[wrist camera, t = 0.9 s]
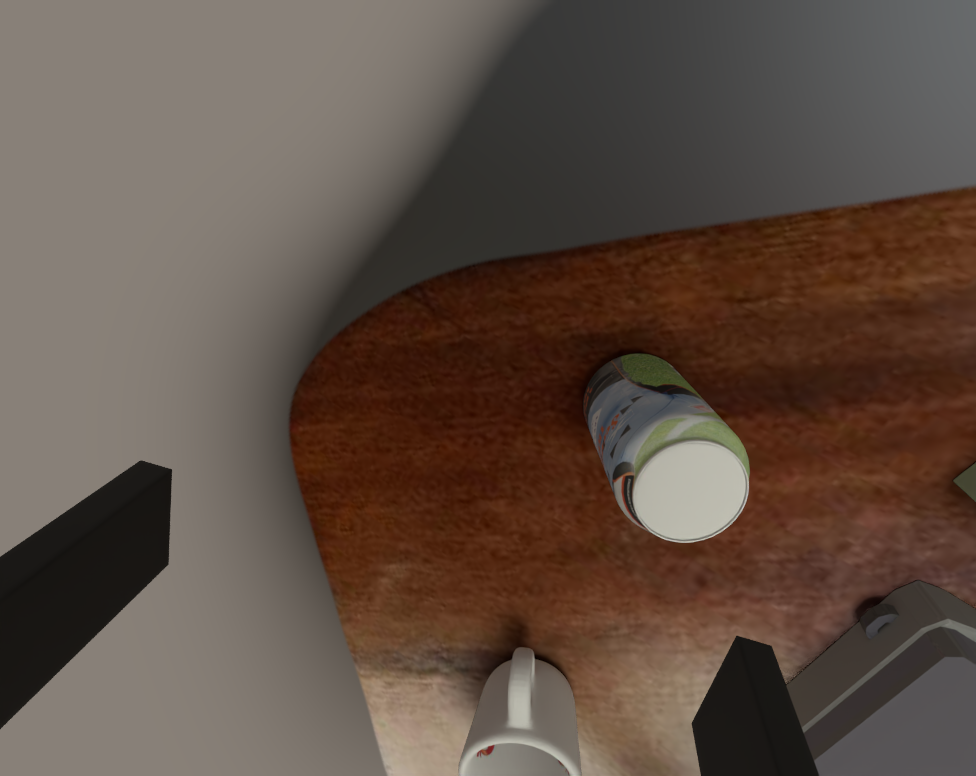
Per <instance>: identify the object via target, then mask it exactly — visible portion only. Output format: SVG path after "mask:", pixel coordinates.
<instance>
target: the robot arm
mask: <svg viewBox="0 0 976 776" xmlns="http://www.w3.org/2000/svg"><path fill="white" fill-rule="evenodd" d="M171 478H172V469H168V468H165V467H162V466H158V465H155V464H152V463H148V462H145V461H139V462H138V463H136V464H135V465H133V466H132V467H130V468H129V469H128V470H126V471H125V472H123V473H122V474H120V475H119V476H117V477H116V478H114V479H113V480H112V481H110V482H109V483H107V484H106V485H104V486H103V487H101V488H100V489H98V490H97V491H95V492H94V493H92V494H91V495H90V496H88V497H87V498H85V499H84V500H82V501H81V502H79V503H78V504H76V505H75V506H74V507H72V508H71V509H69V510H68V511H66V512H65V513H63V514H62V515H60V516H59V517H58V518H56V519H55V520H53V521H52V522H50V523H49V524H48V525H46V526H44V527H43V528H42V529H40V530H39V531H37V532H36V533H34V534H33V535H31V536H30V537H28V538H27V539H26V540H24V541H23V542H21V543H20V544H18V545H17V546H15V547H14V548H12V549H11V550H10V551H8V552H7V553H5V554H4V555H2V556H1V557H0V729H1V728H2V727H3V726H4V725H5V724H6V723H7V722H8V721H9V720H10V719H11V718H12V717H13V716H14V715H15V714H16V713H17V712H18V711H19V710H20V709H21V708H22V707H23V706H24V705H25V704H26V703H27V702H28V701H29V700H30V699H31V698H32V697H33V696H34V695H35V694H37V693H38V692H39V691H40V689H42V688H43V686H45V685H46V684H47V683H48V682H49V681H50V680H51V679H52V678H53V677H54V676H55V675H56V674H57V673H58V672H59V671H60V670H61V669H62V668H63V667H64V666H65V665H66V664H67V663H68V662H69V661H70V660H71V659H72V658H73V657H74V656H75V655H76V654H77V653H78V652H79V651H80V650H81V649H82V648H83V647H85V646H86V644H88V642H90V641H91V639H92V638H94V637H95V636H96V635H97V633H99V632H100V631H101V630H102V629H103V628H104V627H105V626H106V625H107V624H108V623H109V622H110V621H111V620H112V619H113V618H114V617H115V616H116V615H117V614H118V613H119V612H120V611H121V610H122V609H123V608H124V607H125V606H126V605H127V604H128V603H129V602H130V601H131V600H132V599H134V598H135V597H136V595H137V594H139V593H140V592H141V591H142V590H143V589H144V588H145V587H146V586H147V585H148V584H149V583H150V582H151V581H152V580H153V579H154V578H155V577H156V576H157V575H158V574H159V573H160V572H161V571H162V570H163V569H164V568H165V567H166V566H167V565H168V561H169V535H170V533H169V532H170V507H171V480H172V479H171ZM692 728H693V733H694V739H695V744H696V750H697V756H698V761H699V767H700V772H701V776H819V773H818V770H817V768H816V765H815V762H814V760H813V757H812V754H811V752H810V749H809V746H808V743H807V741H806V738H805V735H804V733H803V730H802V727H801V725H800V722H799V719H798V716H797V714H796V711H795V708H794V706H793V703H792V700H791V697H790V695H789V692H788V689H787V687H786V684H785V681H784V679H783V676H782V673H781V670H780V668H779V665H778V662H777V660H776V657H775V654H774V652H773V649H772V646H770V645H766V644H763V643H760V642H756V641H753V640H750V639H746V638H743V637H739V636H736V638H735V640H734V642H733V644H732V646H731V648H730V649H729V651H728V653H727V655H726V657H725V659H724V661H723V663H722V665H721V667H720V669H719V671H718V673H717V675H716V677H715V679H714V681H713V683H712V685H711V687H710V688H709V690H708V692H707V694H706V696H705V698H704V700H703V702H702V704H701V706H700V708H699V710H698V712H697V714H696V716H695V718H694V720H693V722H692Z"/></svg>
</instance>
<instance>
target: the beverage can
mask: <svg viewBox="0 0 976 776" xmlns="http://www.w3.org/2000/svg"><path fill="white" fill-rule="evenodd" d="M583 412H584V417H585V420H586V423H587V425H588V428H589V430H590V433H591V436H592V438H593V441H594V443H595V446H596V448H597V451H598V454H599V456H600V459H601V461H602V464H603V466H604V469H605V472H606V474H607V477H608V479H609V482H610V484H611V487H612V489H613V492H614V495H615V497H616V499H617V502H618V504H619V506H620V508H621V509H622V511H623V512H624V513H625V515H626V516H627V517H628V518H629V519H630V520H631V521H632V522H633V523H635V524H636V525H638V526H639V527H641V528H642V529H644V530H646V531H648V532H651V533H653V534H655V535H656V536H658V537H660V538H663V539H665V540H669V541H673V542H682V543H686V542H696V541H701V540H705V539H707V538H710V537H713V536H715V535H717V534H718V533H720V532H722V531H723V530H725V529H726V528H727V527H729V526H730V525H731V524H732V523H733V522H734V521H735V520H736V519H737V517H738V516H739V514H740V513H741V512H742V510H743V508H744V506H745V504H746V500H747V497H748V491H749V473H750V469H749V460H748V456H747V453H746V450H745V448H744V446H743V444H742V443H741V441H740V439H739V438H738V437H737V435H736V434H735V433H734V432H733V431H732V430H731V429H730V428H729V427H728V426H727V424H726V423H725V422H724V421H723V420H722V419H721V418H720V417H719V416H718V415H717V414H716V413H715V412H714V410H713V409H712V408H711V407H710V406H709V405H708V404H707V403H706V402H705V401H704V400H703V399H702V398H701V397H700V395H699V394H698V393H697V392H696V391H695V390H694V389H693V388H692V387H691V386H690V385H689V384H688V383H687V381H686V380H685V379H684V378H683V377H682V376H681V375H680V374H679V373H678V372H677V371H676V370H675V369H674V367H673V366H671V365H670V364H669V363H667V362H666V361H665V360H663V359H661V358H659V357H656V356H652V355H649V354H629V355H624V356H621V357H618V358H616V359H613V360H611V361H610V362H608V363H607V364H605V365H604V366H603V367H601V368H600V369H599V370H598V371H597V372H596V373H595V374H594V376H593V377H592V378H591V380H590V382H589V383H588V385H587V388H586V391H585V393H584V399H583Z"/></svg>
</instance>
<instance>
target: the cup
mask: <svg viewBox="0 0 976 776" xmlns="http://www.w3.org/2000/svg"><path fill="white" fill-rule="evenodd" d="M459 776H582V773H581V762H580V751H579V741H578V730H577V720H576V709H575V701H574V696H573V692H572V689H571V687H570V685H569V683H568V681H567V679H566V678H565V677H564V675H563V674H562V673H561V672H560V671H559V670H558V669H556V668H555V667H553V666H552V665H550V664H548V663H546V662H543V661H541V660H537V659H535V658H534V652H533V650H532V649H530V648H525V647H519V648H517V649H516V650H515V651H514V653H513V657H512V660H509V661H507V662H505V663H503V664H501V665H500V666H498V667H497V668H496V669H495V670H494V671H493V672H492V674H491V675H490V676H489V678H488V680H487V682H486V684H485V686H484V689H483V692H482V695H481V698H480V701H479V704H478V707H477V710H476V713H475V716H474V719H473V722H472V725H471V728H470V731H469V734H468V737H467V740H466V743H465V746H464V749H463V752H462V755H461V759H460V762H459Z"/></svg>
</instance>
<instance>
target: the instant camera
mask: <svg viewBox="0 0 976 776" xmlns="http://www.w3.org/2000/svg"><path fill="white" fill-rule="evenodd" d="M786 687H787V689H788V692H789V695H790V697H791V700H792V703H793V706H794V708H795V711H796V714H797V716H798V719H799V722H800V725H801V727H802V730H803V733H804V735H805V738H806V741H807V743H808V746H809V749H810V752H811V754H812V757H813V760H814V762H815V765H816V768H817V770H818V773H819V776H976V609H975V608H973V607H971V606H970V605H968V604H966V603H965V602H963V601H961V600H960V599H958V598H957V597H955V596H953V595H952V594H950V593H948V592H947V591H945V590H943V589H941V588H938V587H935V586H933V585H930V584H927V583H925V582H922V581H919V580H918V581H915V582H913V583H910V584H908V585H906V586H903V587H901V588H898V589H896V590H894V591H893V592H892V593H891V594H890V595H889V596H887V597H886V598H885V599H884V600H883V601H882V602H881V603H879V604H878V605H876V606H874V607H872V608H871V609H870V610H868V611H867V612H866V613H865V614H864V615H863V616H862V617H861V618H860V621H859V622H858V623H857V624H856V625H854V626H853V627H852V628H851V629H850V630H849V631H848V632H847V633H845V634H844V635H843V636H842V637H841V638H840V639H839V640H837V641H836V642H835V643H834V644H833V645H832V646H831V647H829V648H828V649H827V650H826V651H825V652H824V653H823V654H822V655H820V656H819V657H818V658H817V659H816V660H815V661H814V662H812V663H811V664H810V665H809V666H808V667H807V668H806V669H805V670H803V671H802V672H801V673H800V674H799V675H798V676H797V677H795V678H794V679H793V680H792V681H791V682H790V683H789V684H787V685H786Z"/></svg>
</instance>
